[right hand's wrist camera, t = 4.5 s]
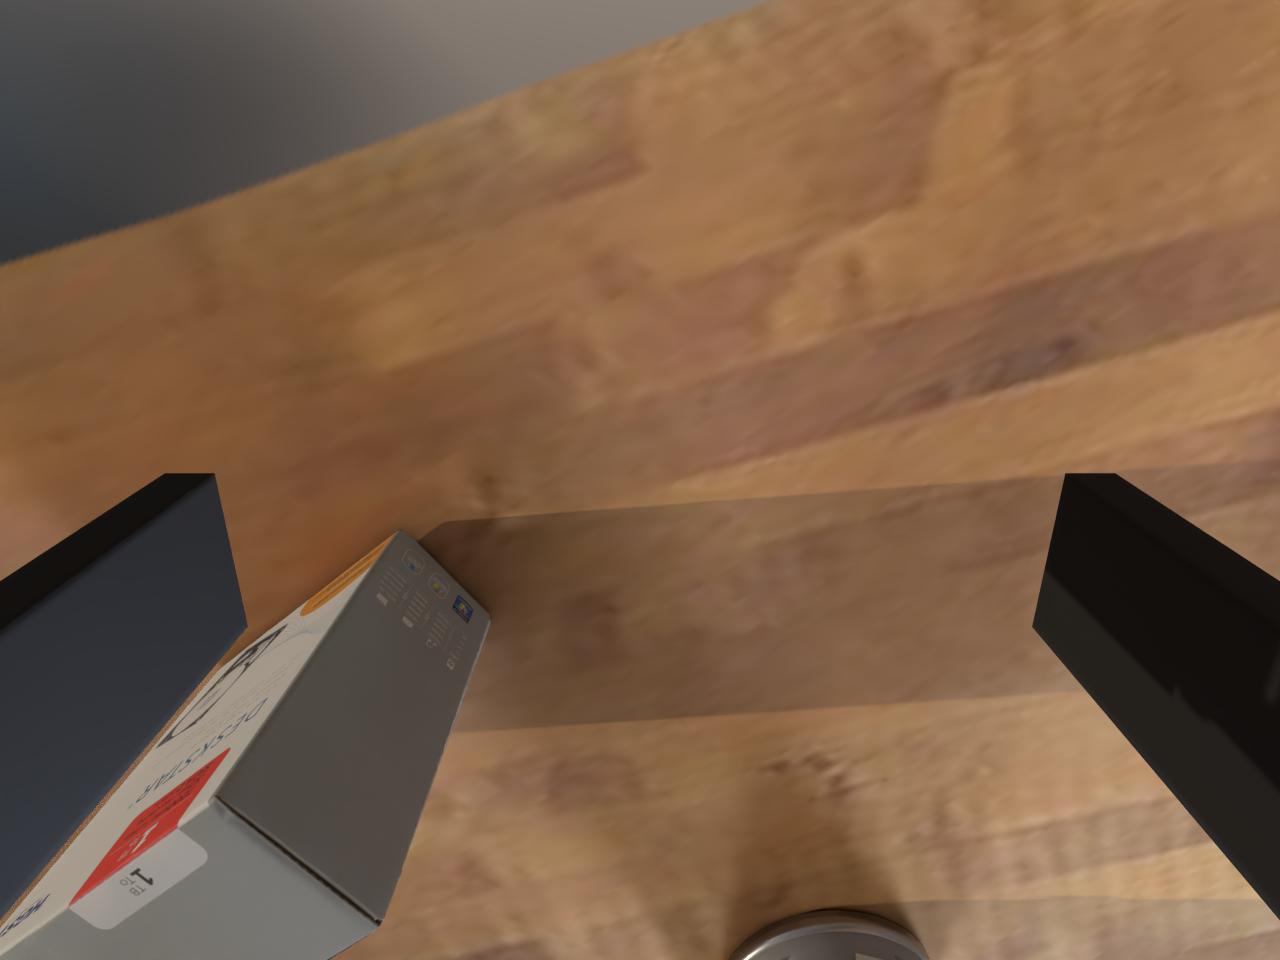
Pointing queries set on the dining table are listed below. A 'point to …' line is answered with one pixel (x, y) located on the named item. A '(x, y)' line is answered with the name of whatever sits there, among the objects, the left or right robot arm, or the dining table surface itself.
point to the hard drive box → (276, 785)
